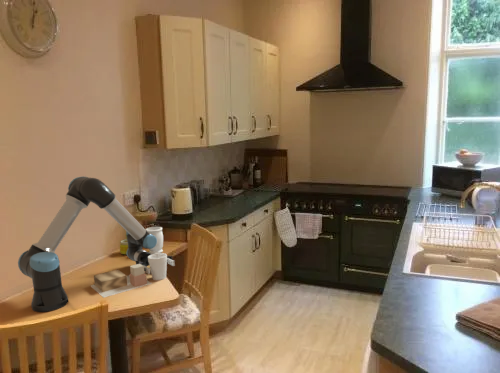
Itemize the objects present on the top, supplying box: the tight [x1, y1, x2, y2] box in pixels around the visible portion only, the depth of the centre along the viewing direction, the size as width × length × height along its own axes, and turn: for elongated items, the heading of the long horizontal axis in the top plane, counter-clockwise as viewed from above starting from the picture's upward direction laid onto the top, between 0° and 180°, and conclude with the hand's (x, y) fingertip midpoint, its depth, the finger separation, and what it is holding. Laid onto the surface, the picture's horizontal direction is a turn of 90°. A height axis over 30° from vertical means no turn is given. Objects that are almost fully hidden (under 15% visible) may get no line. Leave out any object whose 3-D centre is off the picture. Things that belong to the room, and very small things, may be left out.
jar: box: [144, 226, 164, 254], centre depth 269 cm, size 11×10×15 cm
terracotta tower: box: [129, 263, 148, 287], centre depth 213 cm, size 6×6×9 cm
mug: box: [119, 235, 128, 256], centre depth 272 cm, size 13×11×12 cm
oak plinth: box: [93, 269, 127, 292], centre depth 213 cm, size 12×12×5 cm
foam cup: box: [148, 252, 168, 281], centre depth 219 cm, size 10×9×13 cm
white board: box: [90, 274, 153, 299], centre depth 214 cm, size 24×20×2 cm
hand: (161, 267), depth 218 cm, fingers open, 13 cm apart
